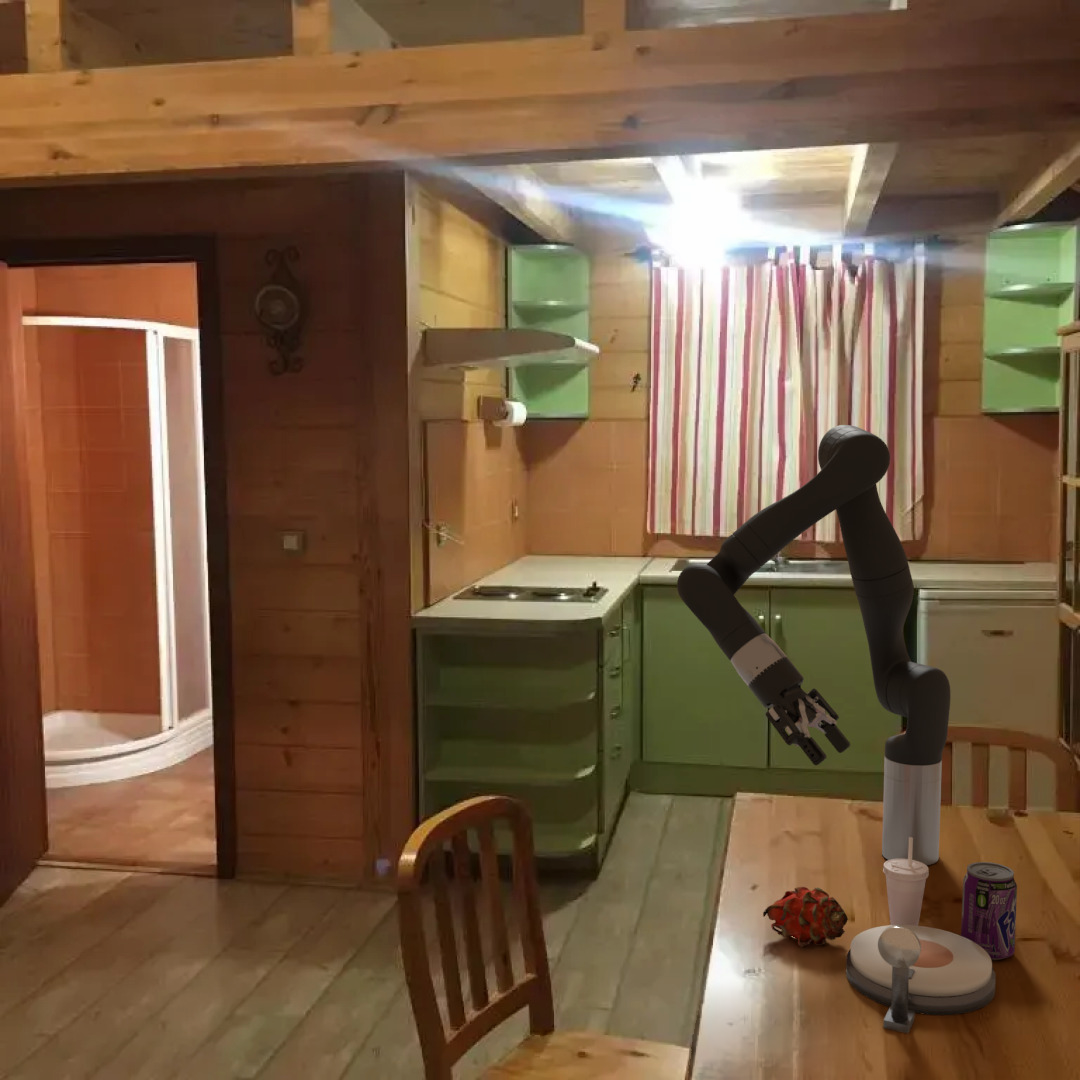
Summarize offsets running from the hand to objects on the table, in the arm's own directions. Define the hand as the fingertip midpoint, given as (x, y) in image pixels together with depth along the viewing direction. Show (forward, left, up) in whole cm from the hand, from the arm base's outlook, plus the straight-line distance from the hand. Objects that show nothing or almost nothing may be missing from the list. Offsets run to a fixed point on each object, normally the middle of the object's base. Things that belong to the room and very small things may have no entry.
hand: (833, 755), depth 185 cm
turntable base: (+17, +16, -24) cm, 34 cm away
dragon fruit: (+12, -1, -24) cm, 27 cm away
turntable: (+17, +16, -22) cm, 32 cm away
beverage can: (+4, +23, -24) cm, 34 cm away
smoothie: (+2, +11, -24) cm, 27 cm away
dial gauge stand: (+30, +16, -24) cm, 42 cm away
